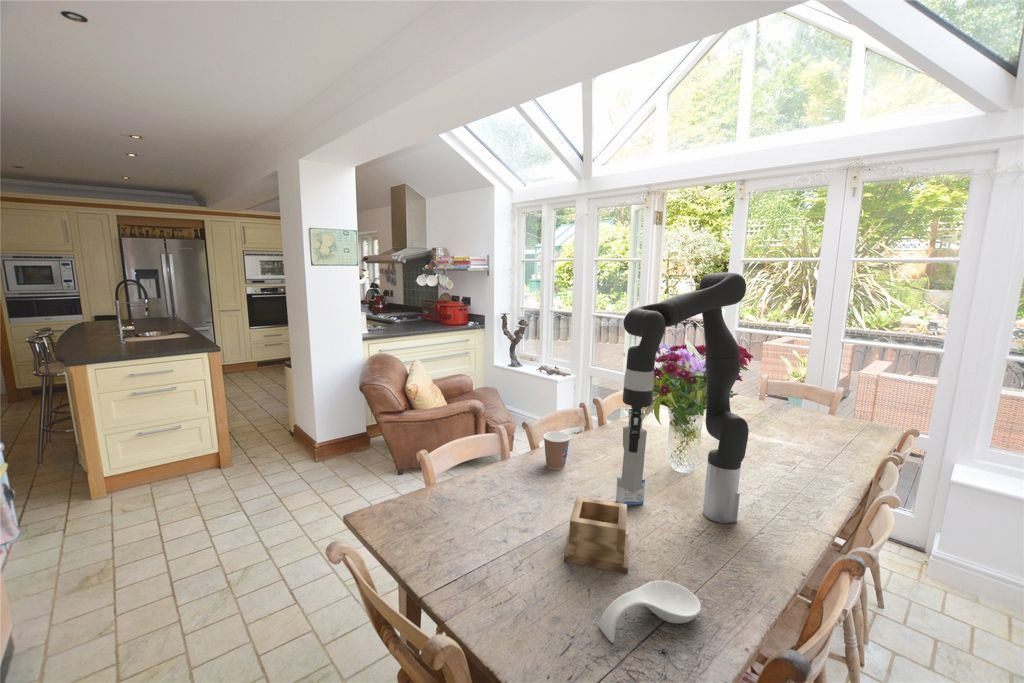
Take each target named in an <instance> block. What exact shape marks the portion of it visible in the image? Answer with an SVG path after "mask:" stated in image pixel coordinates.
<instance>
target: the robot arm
mask: <svg viewBox="0 0 1024 683" xmlns="http://www.w3.org/2000/svg"><path fill="white" fill-rule="evenodd" d="M698 287H699V288H698V290H694V291H689V292H685V293H684V292H683V293H681V294H677V295H674V296H672V297H669V298H666V299H665V300H662V301H660V302H657V303H651V304H646V305H642V306H638V307H635V308H634V309H631V310H629V311H628V313H626V315H625V316H624V318H623V323H622V324H623V328H624V330H625V332H627V333H628V334H629V335H631V336H633V337H634V336H635V337H639V338H641V339H640V342H639V344H638V345H633V346H630V347H629V348H628V350H627V356H626V368H625V374H624V377H623V378H624V379H623V389H622V390H623V391H622V402H623V403H624V404H625V405H627V406H630V407H631V408H628V415H627V417H628V424H627V426H628V428H629V429H630V435H629V438H630V441H629V452H633V453H637V451H638V440H639V438H640V430H642V429H643V422H644V421H643V420H644V418H645V410H644V409H642V408H650V407H651V406H652V405H653V397H654V387H655V366H656V356H657V352H658V350H659V348H660V344H661V342H662V341H663V340H662V339H663V337H664V334H665V332H666V328H670V327H673V326H676V325H677V324H679V323H681V322H684V321H686V320H688V319H690V318H693V317H696V316H697V315H702V322H703V332H704V347H705V352H704V354H705V356H704V357H705V370H706V371H705V372H706V374H705V375H706V408H705V428H706V431H707V433H708V434H709V435H710V436H711V437H712V438H714V439H715V440H718V447H717V449H712V450H710V451H709V452H708V453H707V462H706V463H707V464H706V465H707V466H706V473H705V484H704V494H703V503H702V504H703V505H702V514H703V515H704V517H706V518H707V519H709V520H711V521H713V522H716V523H721V524H732V523H737V521H738V514H739V505H740V495H741V494H740V492H739V486H740V476H741V469H742V468H741V467H742V462H743V461H744V459H745V457H746V452H747V445H748V441H749V435H750V434H749V432H750V428H749V424H748V422H747V421H746V420H745V419H744V418H743V417H741V416H739V415H737V414H735V413H733V412H732V411H731V405H730V404H731V403H730V402H731V401H730V400H731V398H730V395H731V390H732V389H733V386H734V384H735V383H736V382H737V379H738V376H739V375H740V370H741V361H740V360H741V356H740V355H741V354H740V347H739V345H738V342H737V341H736V339H735V337H734V335H733V333H732V332H731V331H730V330H729V327H728V326H727V324H726V323H725V319H724V315H723V309H722V308H723V307H724V308H725V307H727V306H733V305H736V304H738V303H740V302H741V301H742V300H743V298H744V297H745V296H746V292H747V283H746V280H745V278H744V277H743V276H742V275H741V274H739V273H737V272H712V273H710V272H709V273H707V274H705V275H703V277H702V278H701V280H700V282H699V286H698ZM632 431H638V434H632Z"/></svg>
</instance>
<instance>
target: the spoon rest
mask: <svg viewBox="0 0 1024 683" xmlns="http://www.w3.org/2000/svg"><path fill="white" fill-rule="evenodd" d="M636 606H644V607H646V608H647V609H648V610H649V611H651V612H652V613H653V614H654V615H656V617H658V618H659V619H661V620H662V621H665V622H668V623H671V624H685V623H689V622H691V621H694V620H695V619H696V618H697V617H698V616H699V614H701V613H700V612H701V610H702V604H701V602H700V600H699V598H698V597H697V596H696V595H694V593H693V592H691V591H690V590H689V589H688V588H686V587H684V586H683V585H681V584H679V583H676V582H673V581H669V580H652V581H649V582H646V583H644V584H642V585H640V586H639V587H636V588H635V589H632V590H629V591H628V592H625V593H623V594H621V595H620V596H618V597H617V598H615V599H614V600H613V601H612V602H611V603H610V604H609V605H608V606H607V607H606V609H605V610H604V611H603V613H602V615H601V617H600V619H599V622H598V627H599V629H600V631H601V632H602V633H603V634H604V636H605V637H606V639H607V640H608V641H609V642H610V643H612V644H613V643H615V637H616V636H615V634H616V628H617V624H618V622H619V620H620V618H621V616H622V615H623V614H624V613H626V612H627V611H628V610H630V609H631V608H633V607H636Z"/></svg>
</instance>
